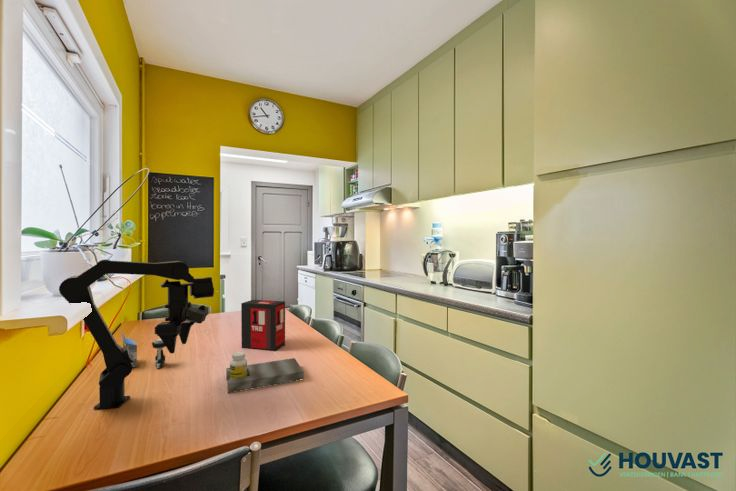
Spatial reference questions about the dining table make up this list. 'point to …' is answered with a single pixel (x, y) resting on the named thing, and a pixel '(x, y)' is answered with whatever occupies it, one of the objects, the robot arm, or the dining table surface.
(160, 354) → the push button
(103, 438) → the dining table surface
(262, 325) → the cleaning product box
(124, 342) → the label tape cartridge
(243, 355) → the supplement bottle
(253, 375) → the notched board
